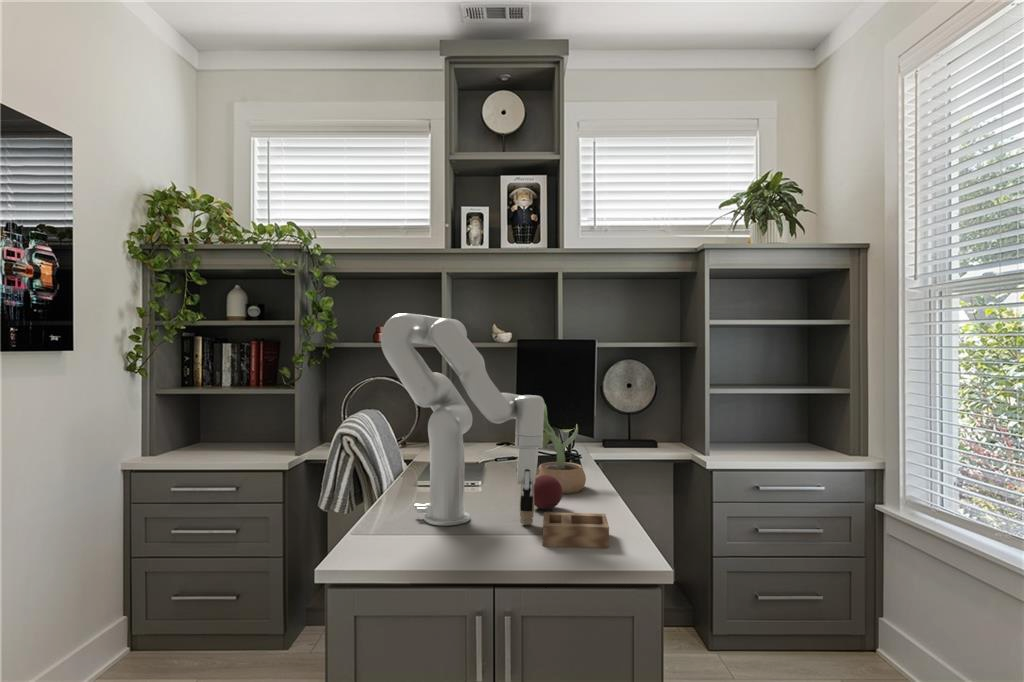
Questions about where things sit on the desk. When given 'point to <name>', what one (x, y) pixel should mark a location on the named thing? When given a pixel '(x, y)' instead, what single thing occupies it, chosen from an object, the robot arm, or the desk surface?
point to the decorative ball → (547, 492)
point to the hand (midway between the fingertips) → (526, 507)
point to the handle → (527, 515)
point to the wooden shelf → (575, 530)
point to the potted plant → (562, 461)
